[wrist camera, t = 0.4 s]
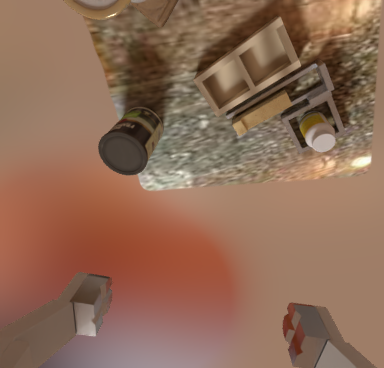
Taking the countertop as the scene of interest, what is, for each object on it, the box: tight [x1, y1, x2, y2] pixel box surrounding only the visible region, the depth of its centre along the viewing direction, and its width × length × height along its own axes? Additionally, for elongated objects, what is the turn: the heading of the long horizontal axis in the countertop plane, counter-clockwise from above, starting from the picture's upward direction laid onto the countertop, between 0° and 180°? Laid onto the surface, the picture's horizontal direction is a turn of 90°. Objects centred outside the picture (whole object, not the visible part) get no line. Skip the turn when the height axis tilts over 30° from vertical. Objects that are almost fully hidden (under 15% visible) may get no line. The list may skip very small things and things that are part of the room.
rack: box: [193, 16, 301, 117], centre depth 47 cm, size 18×9×4 cm, turn 126°
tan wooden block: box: [232, 87, 292, 136], centre depth 51 cm, size 12×3×5 cm, turn 126°
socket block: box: [226, 59, 346, 154], centre depth 53 cm, size 20×17×4 cm
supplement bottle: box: [299, 111, 335, 152], centre depth 50 cm, size 5×5×10 cm
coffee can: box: [98, 107, 163, 175], centre depth 55 cm, size 10×10×14 cm
